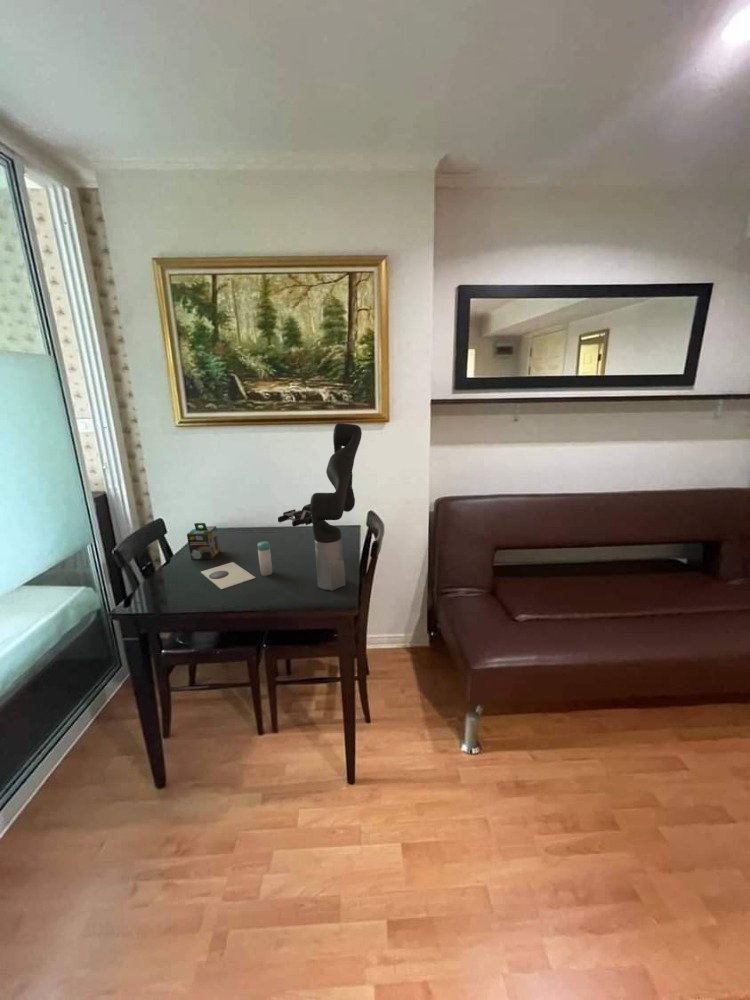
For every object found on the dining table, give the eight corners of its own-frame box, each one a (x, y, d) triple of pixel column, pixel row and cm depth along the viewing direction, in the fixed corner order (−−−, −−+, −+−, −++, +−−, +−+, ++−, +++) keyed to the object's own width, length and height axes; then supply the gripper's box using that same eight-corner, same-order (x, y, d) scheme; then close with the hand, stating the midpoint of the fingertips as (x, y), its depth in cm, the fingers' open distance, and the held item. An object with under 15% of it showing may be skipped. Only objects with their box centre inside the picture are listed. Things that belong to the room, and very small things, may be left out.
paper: (255, 578, 162) (255, 577, 162) (221, 589, 154) (221, 588, 154) (232, 562, 177) (232, 561, 176) (200, 572, 168) (200, 571, 168)
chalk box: (220, 551, 189) (216, 518, 185) (211, 559, 180) (206, 525, 176) (200, 551, 190) (195, 518, 186) (190, 559, 181) (184, 525, 177)
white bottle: (274, 573, 166) (271, 543, 162) (264, 576, 163) (260, 546, 160) (269, 569, 169) (265, 540, 166) (258, 573, 166) (255, 543, 163)
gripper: (303, 499, 185) (272, 509, 173) (327, 505, 176) (297, 516, 164) (305, 516, 187) (274, 527, 175) (328, 522, 178) (298, 534, 166)
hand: (285, 522), depth 170 cm, fingers open, 8 cm apart
